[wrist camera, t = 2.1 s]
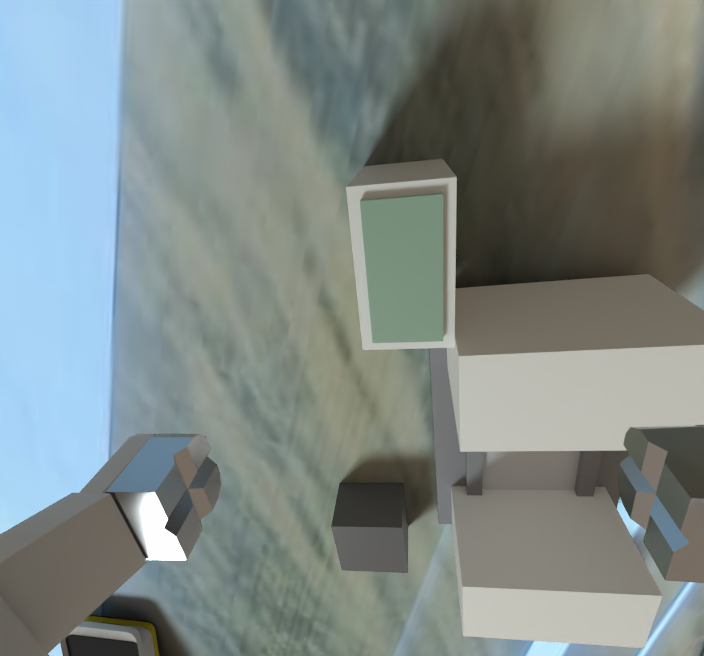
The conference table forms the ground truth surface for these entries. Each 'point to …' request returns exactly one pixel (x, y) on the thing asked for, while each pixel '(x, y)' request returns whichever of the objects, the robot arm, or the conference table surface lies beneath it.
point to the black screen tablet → (111, 638)
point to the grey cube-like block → (371, 527)
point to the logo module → (405, 253)
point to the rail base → (556, 449)
